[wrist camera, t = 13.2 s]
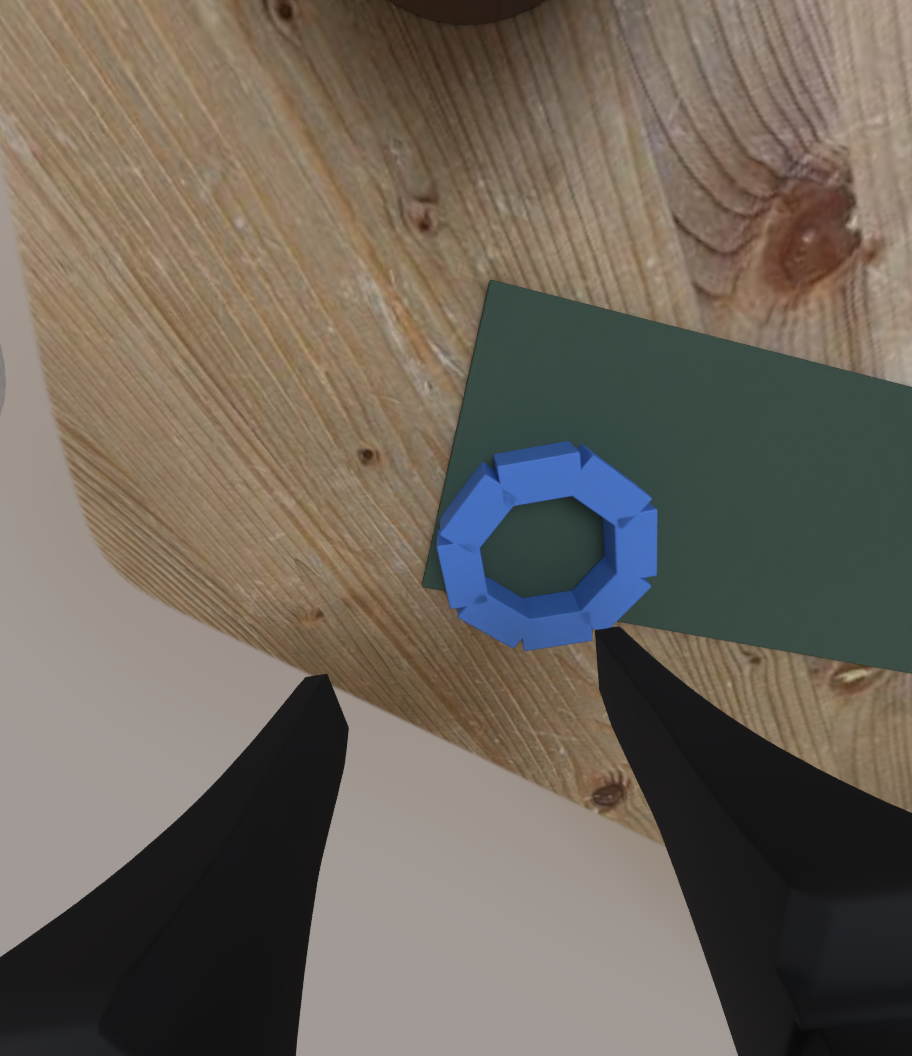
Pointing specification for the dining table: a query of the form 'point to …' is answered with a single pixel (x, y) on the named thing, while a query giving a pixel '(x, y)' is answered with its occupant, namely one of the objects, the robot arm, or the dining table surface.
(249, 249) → the dining table surface
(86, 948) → the robot arm
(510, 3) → the platform
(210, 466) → the dining table surface
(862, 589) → the mat
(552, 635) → the ring
